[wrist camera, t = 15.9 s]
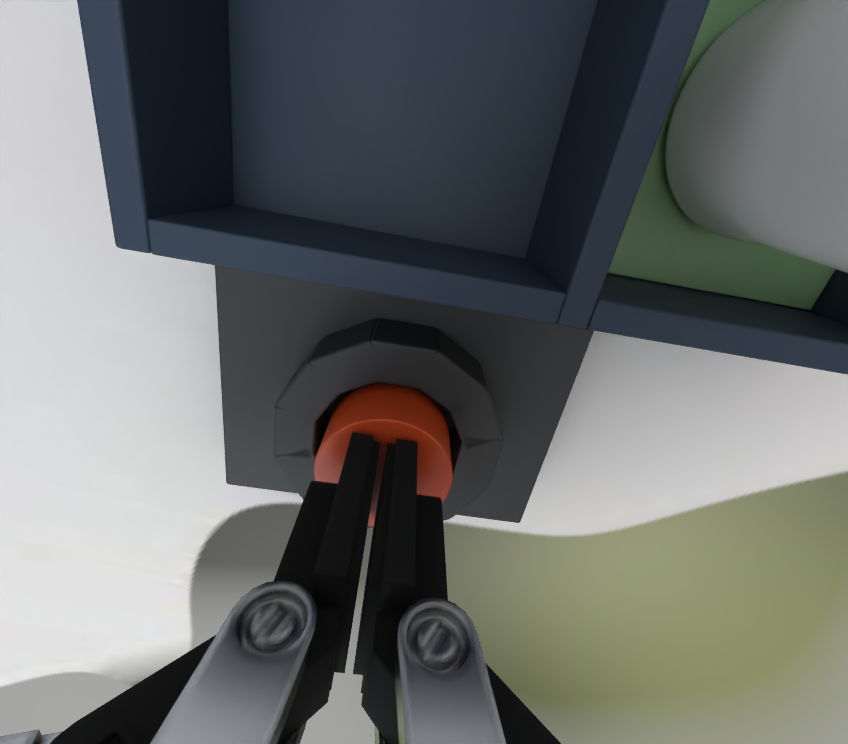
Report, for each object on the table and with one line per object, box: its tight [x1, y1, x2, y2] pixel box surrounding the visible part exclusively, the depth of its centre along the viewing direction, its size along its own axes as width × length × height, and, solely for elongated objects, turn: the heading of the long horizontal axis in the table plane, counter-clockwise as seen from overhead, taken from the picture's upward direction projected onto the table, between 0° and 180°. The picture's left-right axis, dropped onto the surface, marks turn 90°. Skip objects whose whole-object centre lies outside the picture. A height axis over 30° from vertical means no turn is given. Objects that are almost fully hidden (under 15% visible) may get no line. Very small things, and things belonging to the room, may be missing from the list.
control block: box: [215, 265, 594, 528], centre depth 13 cm, size 11×8×4 cm
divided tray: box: [77, 0, 848, 374], centre depth 9 cm, size 19×10×5 cm, turn 80°
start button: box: [314, 383, 452, 526], centre depth 11 cm, size 4×4×2 cm
